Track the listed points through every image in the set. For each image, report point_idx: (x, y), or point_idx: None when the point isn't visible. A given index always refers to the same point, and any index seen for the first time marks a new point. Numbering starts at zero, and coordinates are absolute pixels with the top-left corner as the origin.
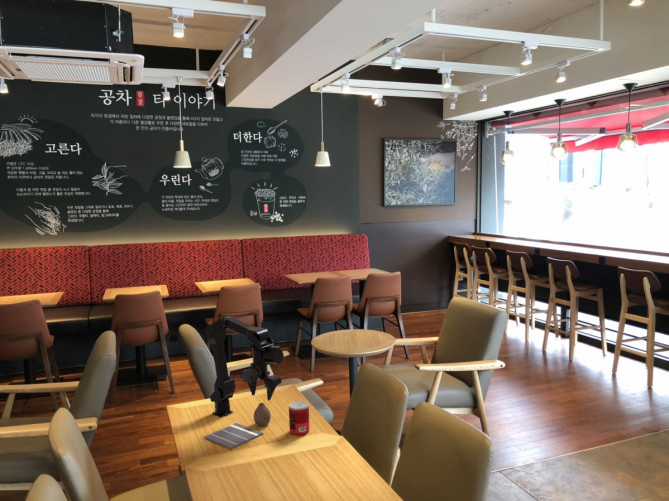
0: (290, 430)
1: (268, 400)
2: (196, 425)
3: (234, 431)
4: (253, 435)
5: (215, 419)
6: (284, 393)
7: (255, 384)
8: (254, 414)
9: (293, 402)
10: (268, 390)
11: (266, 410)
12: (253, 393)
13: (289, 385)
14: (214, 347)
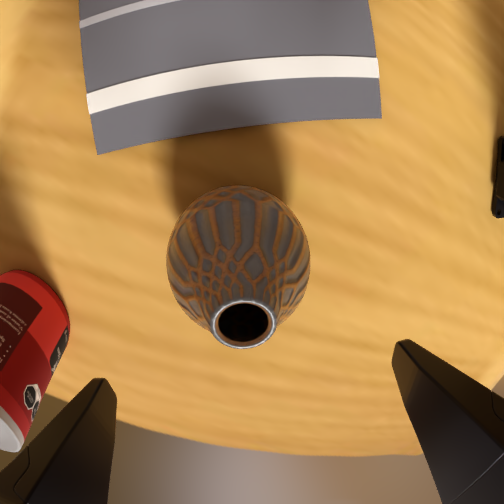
0: (16, 278)
1: (95, 378)
2: (496, 3)
3: (267, 18)
4: (105, 81)
5: (499, 101)
6: (410, 433)
7: (442, 477)
8: (257, 205)
9: (6, 428)
10: (1, 481)
11: (181, 302)
12: (405, 367)
13: None
14: None
